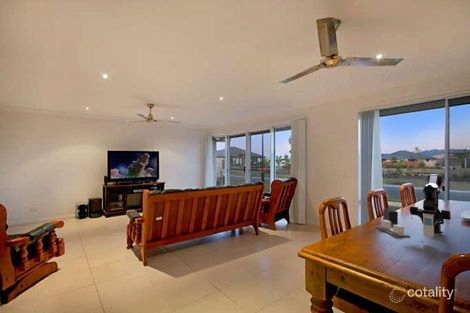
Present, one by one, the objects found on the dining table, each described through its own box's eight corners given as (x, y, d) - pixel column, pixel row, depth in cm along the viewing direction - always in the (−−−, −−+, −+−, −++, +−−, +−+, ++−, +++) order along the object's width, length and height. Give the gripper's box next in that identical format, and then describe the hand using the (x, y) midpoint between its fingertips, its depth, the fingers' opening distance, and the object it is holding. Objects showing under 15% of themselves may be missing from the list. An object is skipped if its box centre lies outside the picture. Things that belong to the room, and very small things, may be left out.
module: (424, 233, 140) (424, 213, 140) (433, 235, 137) (433, 214, 137) (423, 235, 137) (423, 214, 137) (433, 237, 134) (432, 215, 134)
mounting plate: (388, 227, 168) (388, 219, 168) (410, 237, 148) (410, 227, 148) (376, 228, 168) (376, 219, 168) (396, 237, 148) (396, 227, 148)
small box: (398, 225, 173) (398, 211, 173) (388, 225, 175) (388, 211, 175) (392, 222, 184) (391, 208, 184) (382, 221, 185) (382, 208, 185)
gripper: (409, 193, 146) (406, 213, 139) (450, 196, 133) (449, 219, 125) (412, 204, 152) (409, 224, 144) (451, 208, 139) (450, 231, 131)
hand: (428, 224), depth 136 cm, fingers closed on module, 4 cm apart
